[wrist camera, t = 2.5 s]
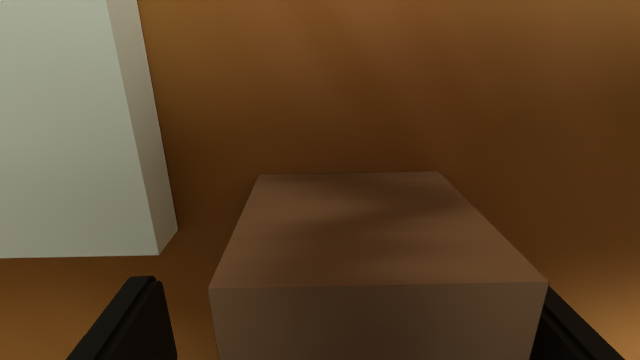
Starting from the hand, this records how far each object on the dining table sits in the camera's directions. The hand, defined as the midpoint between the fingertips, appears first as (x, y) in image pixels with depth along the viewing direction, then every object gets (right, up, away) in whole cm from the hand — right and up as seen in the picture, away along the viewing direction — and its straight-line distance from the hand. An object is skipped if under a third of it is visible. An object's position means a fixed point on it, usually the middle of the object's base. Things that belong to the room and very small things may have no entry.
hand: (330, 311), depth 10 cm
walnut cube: (+1, +1, +3) cm, 3 cm away
